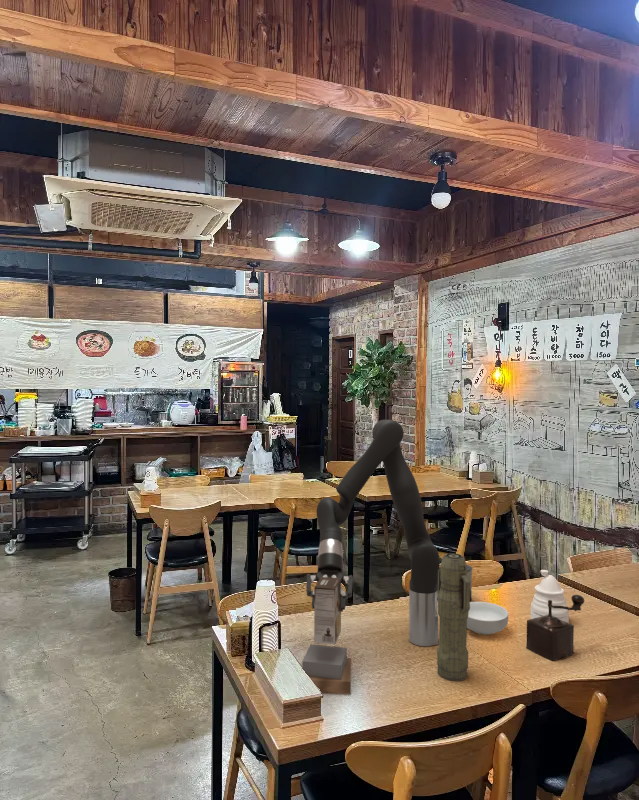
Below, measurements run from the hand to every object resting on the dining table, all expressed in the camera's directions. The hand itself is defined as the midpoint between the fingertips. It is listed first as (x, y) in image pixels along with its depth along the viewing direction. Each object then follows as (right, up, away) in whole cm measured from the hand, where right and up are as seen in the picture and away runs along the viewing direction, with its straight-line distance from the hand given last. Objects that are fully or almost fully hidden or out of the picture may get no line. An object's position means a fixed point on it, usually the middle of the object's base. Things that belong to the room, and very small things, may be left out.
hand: (328, 610), depth 167 cm
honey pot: (+81, -20, +44) cm, 94 cm away
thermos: (+37, -21, +4) cm, 42 cm away
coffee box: (0, -8, 0) cm, 8 cm away
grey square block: (-1, -17, 0) cm, 17 cm away
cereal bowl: (+54, -20, +36) cm, 68 cm away
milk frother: (+49, -20, +62) cm, 81 cm away
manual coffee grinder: (+74, -21, +20) cm, 79 cm away
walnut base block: (-1, -21, 0) cm, 21 cm away
